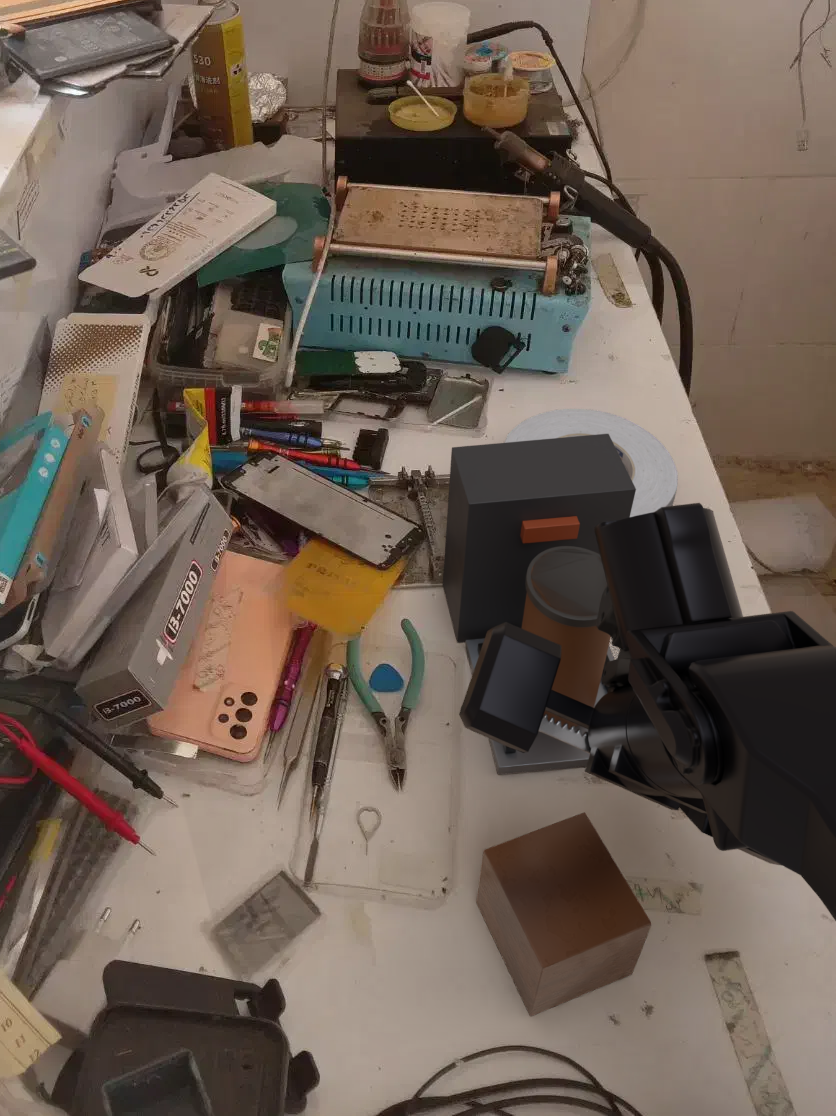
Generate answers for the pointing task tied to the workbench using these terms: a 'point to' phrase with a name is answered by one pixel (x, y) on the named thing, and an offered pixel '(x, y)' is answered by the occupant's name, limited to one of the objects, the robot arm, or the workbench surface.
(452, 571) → the coffee maker
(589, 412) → the tape roll
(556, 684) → the carafe
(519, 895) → the brown cube
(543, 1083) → the workbench surface
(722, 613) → the robot arm
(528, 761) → the drip pan
